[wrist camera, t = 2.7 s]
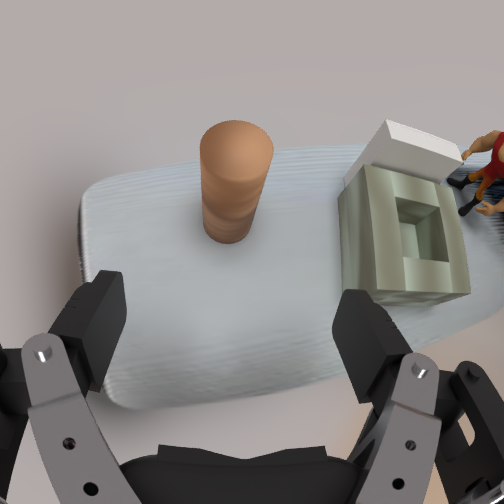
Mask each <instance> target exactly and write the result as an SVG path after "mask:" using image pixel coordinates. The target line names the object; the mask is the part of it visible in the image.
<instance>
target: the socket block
mask: <svg viewBox="0 0 504 504" xmlns="http://www.w3.org/2000/svg"><path fill="white" fill-rule="evenodd" d="M338 210H339V224H340V242H341V265H342V294H343V292H344V290H345V289H362V290H366V291H367V292H368V294H369V295H370V297H371V298H372V300H373V301H374V303H377V304H378V305H384V306H433V305H437V304H440V303H443V302H446V301H450V300H453V299H456V298H459V297H462V296H465V295H468V294H471V288H470V279H469V271H468V264H467V257H466V251H465V245H464V239H463V234H462V229H461V224H460V219H459V215H458V211H457V206H456V202H455V198H454V194H453V190H452V188H450V187H447V186H443V185H440V184H437V183H434V182H430V181H427V180H423V179H420V178H416V177H413V176H409V175H406V174H402V173H398V172H394V171H390V170H386V169H382V168H378V167H374V166H370V165H366V164H364V165H363V166H362V167H361V168H360V170H359V171H358V172H357V174H356V175H355V176H354V178H353V179H352V180H351V181H350V183H349V184H348V185H347V187H346V188H345V189H344V190H343V192H342V193H341V194H340V196H339V197H338Z"/></svg>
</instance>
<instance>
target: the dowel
mask: <svg viewBox="0 0 504 504" xmlns="http://www.w3.org/2000/svg"><path fill="white" fill-rule="evenodd" d="M272 157H273V144H272V141H271V139H270V138H269V136H268V135H267V133H266V132H265V131H263V130H262V129H261V128H260V127H258V126H256V125H254V124H251V123H249V122H245V121H236V120H232V121H225V122H221V123H219V124H216V125H214V126H213V127H211V128H210V129H209V130H207V132H206V133H205V134H204V135H203V137H202V139H201V143H200V165H201V188H202V208H203V224H204V228H205V231H206V232H207V234H208V235H209V236H210V237H211V238H212V239H214V240H215V241H217V242H220V243H225V244H230V243H235V242H238V241H240V240H242V239H243V238H244V237H245V236H246V235H247V234H248V232H249V230H250V228H251V224H252V221H253V218H254V215H255V211H256V208H257V205H258V202H259V198H260V195H261V192H262V189H263V186H264V182H265V179H266V176H267V173H268V170H269V166H270V163H271V160H272Z"/></svg>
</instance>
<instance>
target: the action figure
mask: <svg viewBox="0 0 504 504" xmlns="http://www.w3.org/2000/svg"><path fill="white" fill-rule="evenodd" d="M492 148H493V151H492V155H491V159H492V160H491V162H490V163H489V164H488V165H486V166H485V167H484V168H482V169H480V170H478V171H477V172H476V173H470V174H468V175H467V176H466V178H465V179H464V180H463V181H461V182H460V181H457V180H455V179H452V178H448V179H447V181H448V182H449V183H450V184H451V185H455V186H457V187H458V188H460V189H461V190H462V189H463V188H464V186H465V185H467V184H471V183H474V182H475V181H476V179H478V178H481V177H484V179H483V181H482V183H481V184H480V186H479V188H478V190H477V192H476V193H475V196H474V199H473V200H472V201H471V202H469V203H468V204H466V206H464V207H461V208H460V209H459V213H460V215H461V216H465V215H466V214H467V213H468V212H469V211H470V210H471V209H472V207H473V206H475V205H477V204H479V203H480V202H481V204H482V205H485V207H476V208H475V209H476V211H477V212H479V213H481V214H483V215H485V216H489V215H491V214H493V213H494V212H495V211H497V212H504V198H503V199H502V200H501V201H500V202H499V203H498V204H496V205H494V206H493V205H491V204H490V203H488V202H484V201H482V199H483V196H484V193H483V191H484V190H485V189H486V188H488V187H489V186H490V185H491V184H492V183H493V182H494V181H495V180H496V179H497V178H499V177H502V178H503V179H504V132H500V131H496V130H495V131H492V132H490V133H489V134H487V135H486V136H482V137H480V138H477V139H476V140H475V141H474V143H473V144H472V145H471V147H470V148H469V150H466V151H465V152H464V153H463V154H462V155H461V158H462V160H466V159H467V157H468V156H470V155H471V154H472V153H478V152H486V151H489V150H491V149H492ZM461 165H464V162H463V163H462V164H461Z"/></svg>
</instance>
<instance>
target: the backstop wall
mask: <svg viewBox="0 0 504 504" xmlns="http://www.w3.org/2000/svg"><path fill="white" fill-rule="evenodd" d="M462 163H463V160H462V158H461V155H460V152H459V150H458V147H457V145H456V144H454V143H451V142H449V141H446V140H444V139H441V138H439V137H436V136H434V135H431V134H428V133H425V132H423V131H420V130H417V129H414V128H411V127H408V126H405V125H402V124H399V123H396V122H393V121H389V120H385V121H384V123H383V124H382V126H381V127H380V128H379V130H378V131H377V133H376V134H375V135H374V137H373V138H372V140H371V141H370V142H369V144H368V145H367V147H366V148H365V149H364V151H363V152H362V154H361V155H360V156H359V158H358V159H357V161H356V162H355V163H354V165H353V166H352V167H351V169H350V170H349V172H348V173H347V174H346V176H345V177H344V183H345V188H346V187H347V185H348V184H349V183H350V181H351V180H352V179H353V178H354V176H355V175H356V174H357V172H358V171H359V170H360V168H361V167H362V166H363V165H364V164H366V165H370V166H374V167H378V168H382V169H386V170H390V171H394V172H398V173H402V174H406V175H409V176H413V177H416V178H420V179H423V180H427V181H430V182H434V183H437V184H439V183H441V182H442V181H443V180H444V179H445V178H446V177H448V176H449V175H450V174H451V173H452V172H453V171H454V170H456V169H457V168H458V167H459V166H460V165H461V164H462Z"/></svg>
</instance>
